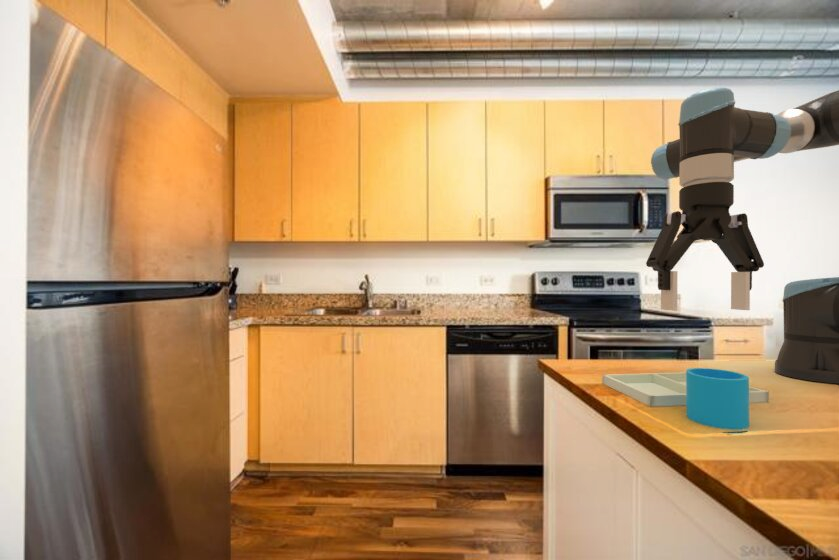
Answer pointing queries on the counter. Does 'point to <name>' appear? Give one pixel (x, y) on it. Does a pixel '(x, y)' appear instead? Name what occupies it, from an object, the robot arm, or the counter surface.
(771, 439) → the counter surface
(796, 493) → the counter surface
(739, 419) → the mug
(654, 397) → the grey-green flat rectangular tray
